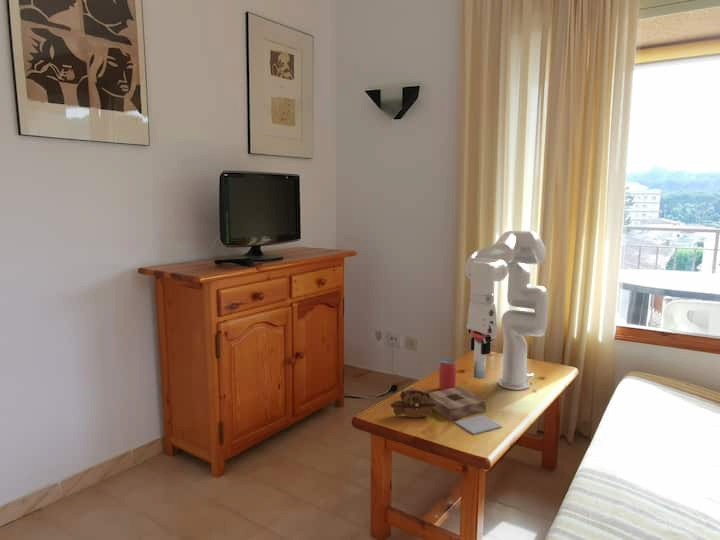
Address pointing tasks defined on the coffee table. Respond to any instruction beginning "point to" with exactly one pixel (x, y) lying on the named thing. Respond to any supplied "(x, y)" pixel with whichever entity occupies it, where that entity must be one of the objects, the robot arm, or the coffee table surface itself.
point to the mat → (478, 424)
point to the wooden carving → (413, 403)
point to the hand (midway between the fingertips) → (480, 351)
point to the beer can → (447, 374)
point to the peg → (479, 356)
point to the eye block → (457, 403)
